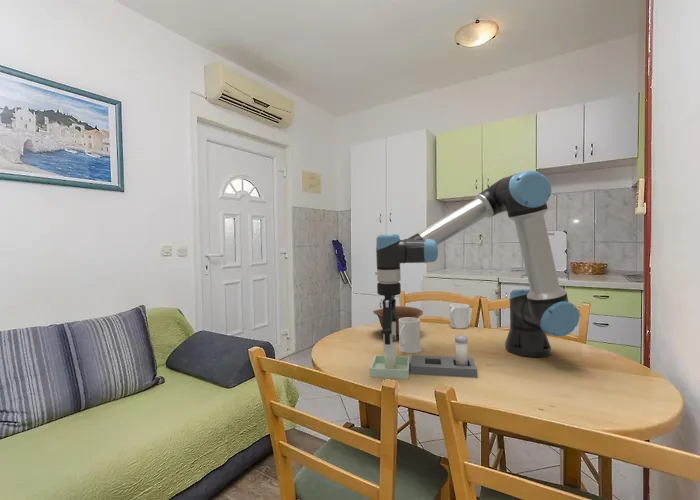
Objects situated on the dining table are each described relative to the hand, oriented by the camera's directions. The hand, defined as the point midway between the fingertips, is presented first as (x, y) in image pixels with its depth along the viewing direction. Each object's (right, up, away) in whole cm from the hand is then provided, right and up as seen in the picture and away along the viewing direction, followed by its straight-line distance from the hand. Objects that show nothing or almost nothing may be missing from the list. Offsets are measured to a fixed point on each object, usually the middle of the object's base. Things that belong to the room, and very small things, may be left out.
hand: (390, 346), depth 112 cm
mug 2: (+38, -5, +50) cm, 63 cm away
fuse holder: (+17, -8, 0) cm, 19 cm away
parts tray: (0, -8, 0) cm, 8 cm away
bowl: (+8, -6, +41) cm, 42 cm away
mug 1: (+9, -7, +19) cm, 22 cm away
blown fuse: (0, -8, 0) cm, 8 cm away
